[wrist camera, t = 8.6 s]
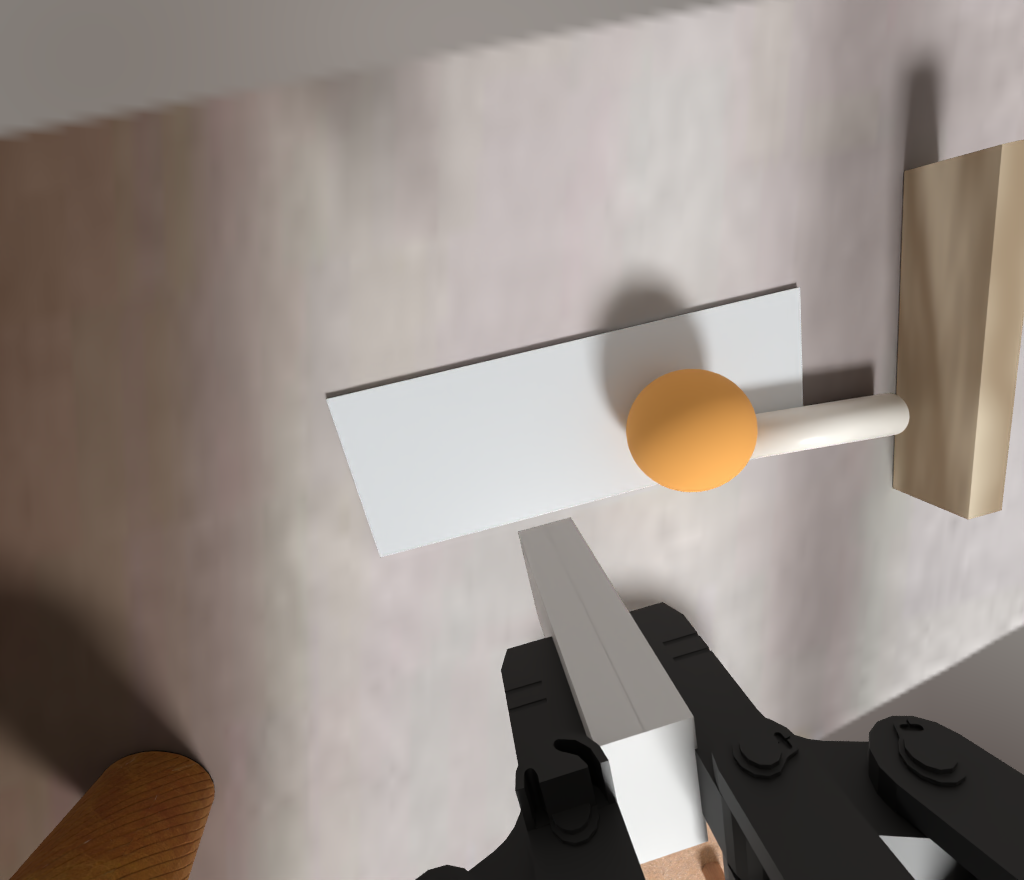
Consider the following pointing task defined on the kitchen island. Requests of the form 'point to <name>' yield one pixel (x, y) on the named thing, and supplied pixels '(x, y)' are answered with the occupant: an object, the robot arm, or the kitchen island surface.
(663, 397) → the ball
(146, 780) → the disposable coffee cup
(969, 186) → the backstop
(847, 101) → the kitchen island surface
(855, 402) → the pin
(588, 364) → the plate
